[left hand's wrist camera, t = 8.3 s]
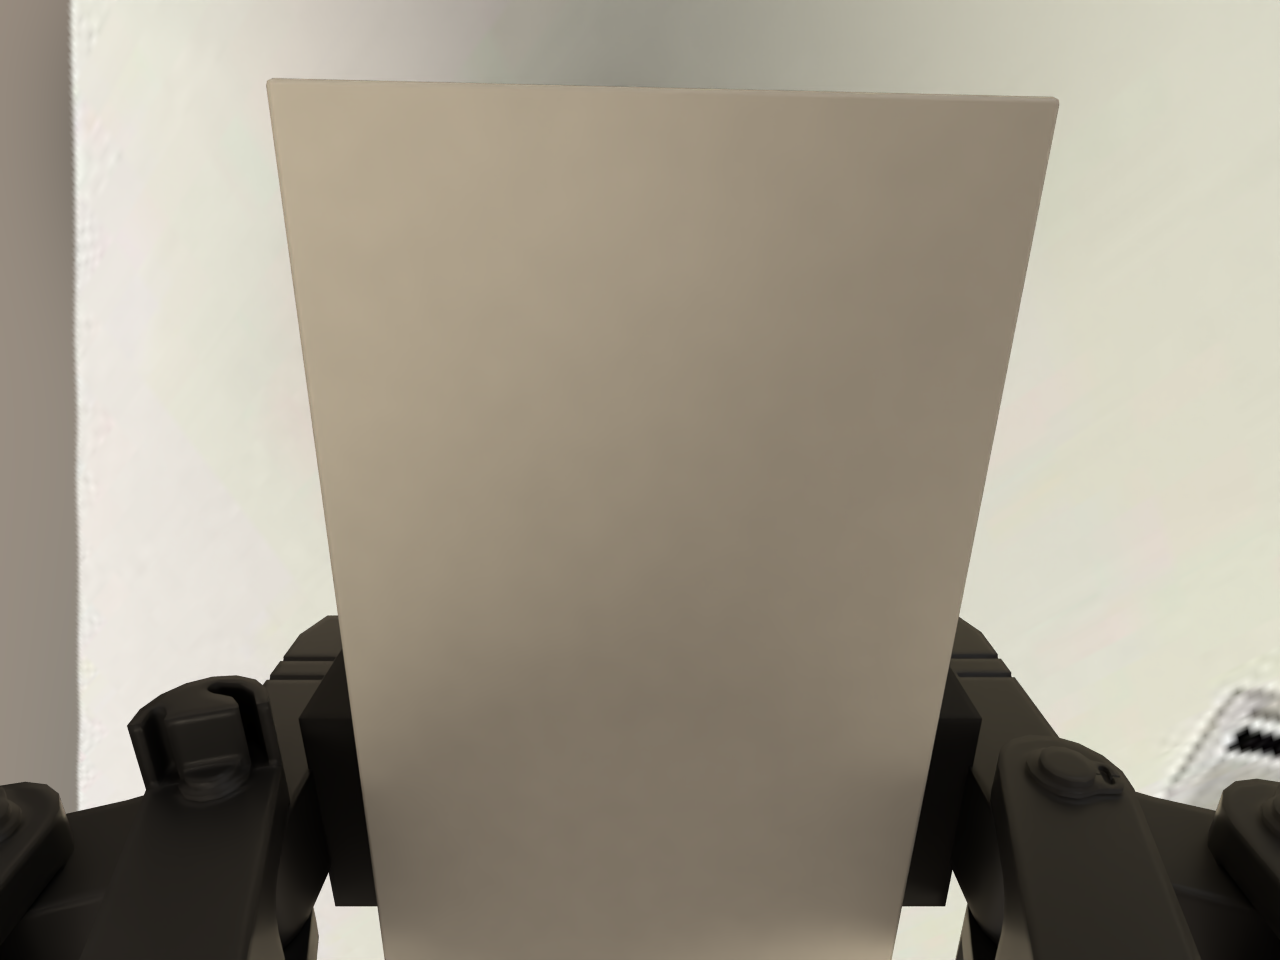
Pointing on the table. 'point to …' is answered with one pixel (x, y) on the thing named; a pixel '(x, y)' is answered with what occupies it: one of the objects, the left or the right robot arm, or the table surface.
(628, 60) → the table surface
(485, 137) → the bar
